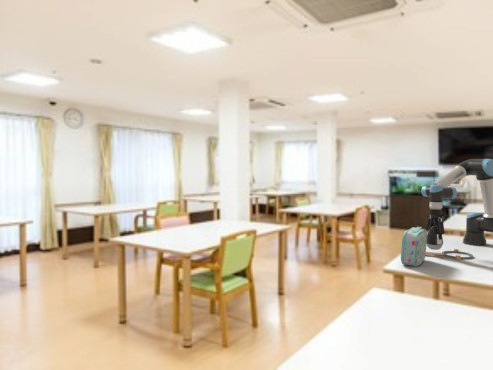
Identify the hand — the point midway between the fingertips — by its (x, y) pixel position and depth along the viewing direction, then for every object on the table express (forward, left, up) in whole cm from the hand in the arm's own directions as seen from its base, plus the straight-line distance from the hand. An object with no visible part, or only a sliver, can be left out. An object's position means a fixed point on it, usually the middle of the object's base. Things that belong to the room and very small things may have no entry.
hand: (434, 242), depth 254 cm
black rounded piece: (0, 0, -4) cm, 4 cm away
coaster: (0, 0, -8) cm, 8 cm away
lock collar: (-5, +14, -8) cm, 17 cm away
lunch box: (+26, -11, -9) cm, 30 cm away
